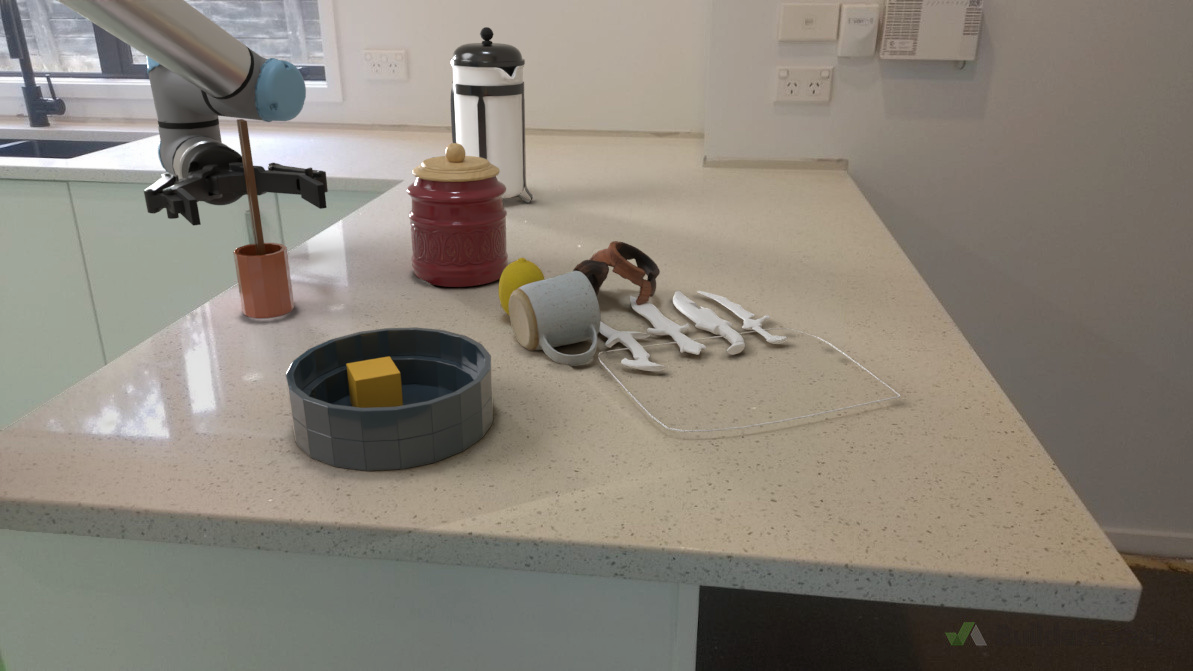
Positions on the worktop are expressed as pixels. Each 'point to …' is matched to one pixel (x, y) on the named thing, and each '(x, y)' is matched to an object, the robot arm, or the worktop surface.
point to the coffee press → (491, 108)
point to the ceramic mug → (556, 316)
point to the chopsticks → (251, 186)
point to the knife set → (704, 321)
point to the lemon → (517, 279)
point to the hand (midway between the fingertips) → (261, 204)
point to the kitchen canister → (457, 220)
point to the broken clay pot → (622, 268)
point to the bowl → (392, 434)
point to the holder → (264, 281)
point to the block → (374, 383)
